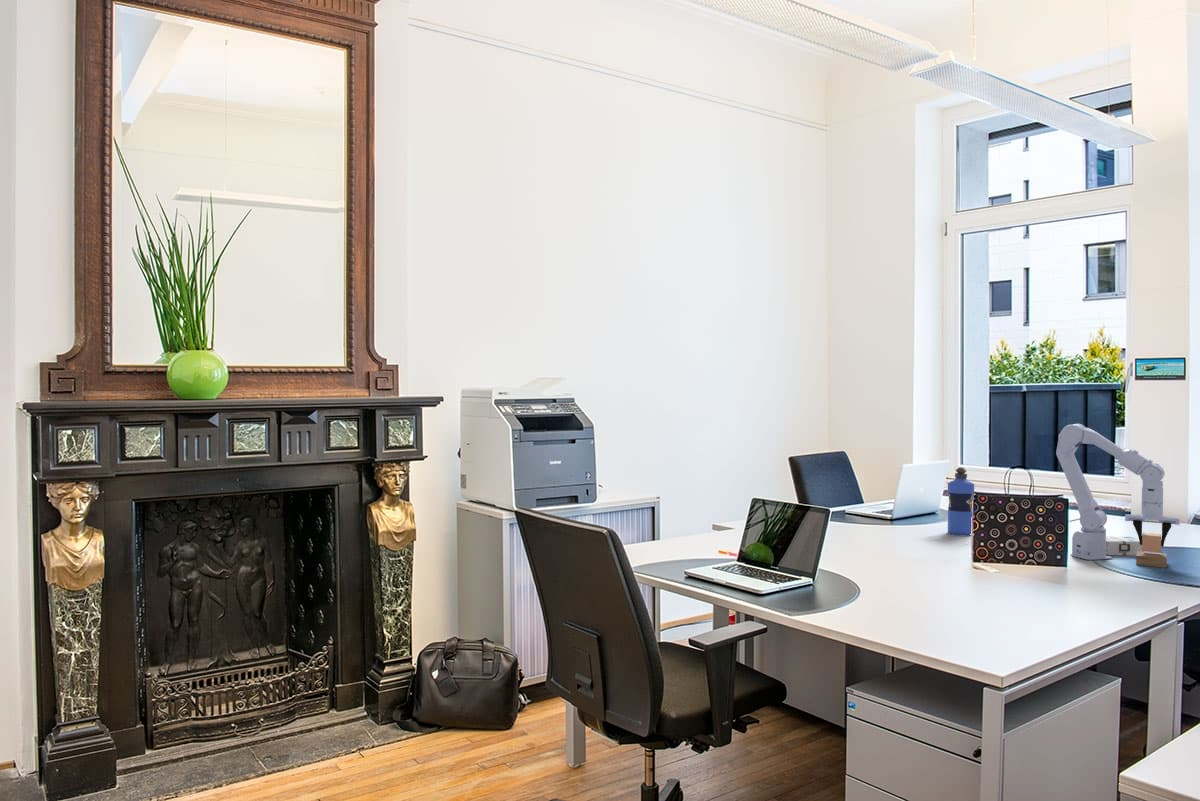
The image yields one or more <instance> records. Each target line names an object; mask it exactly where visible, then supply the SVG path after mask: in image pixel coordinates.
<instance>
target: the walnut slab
mask: <svg viewBox="0 0 1200 801" xmlns="http://www.w3.org/2000/svg"><path fill="white" fill-rule="evenodd" d="M1135 556H1136V558H1135V559H1136V562H1135V564H1136V566H1143V567H1152V566H1153V568H1154V567H1155V568H1164V569H1165V568H1167V566H1168V565H1167V564H1168V563H1167V561H1168V558H1167V553H1162V552H1161V553H1160V552H1148V551H1144V552H1140V551H1137V555H1135Z"/></svg>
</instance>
